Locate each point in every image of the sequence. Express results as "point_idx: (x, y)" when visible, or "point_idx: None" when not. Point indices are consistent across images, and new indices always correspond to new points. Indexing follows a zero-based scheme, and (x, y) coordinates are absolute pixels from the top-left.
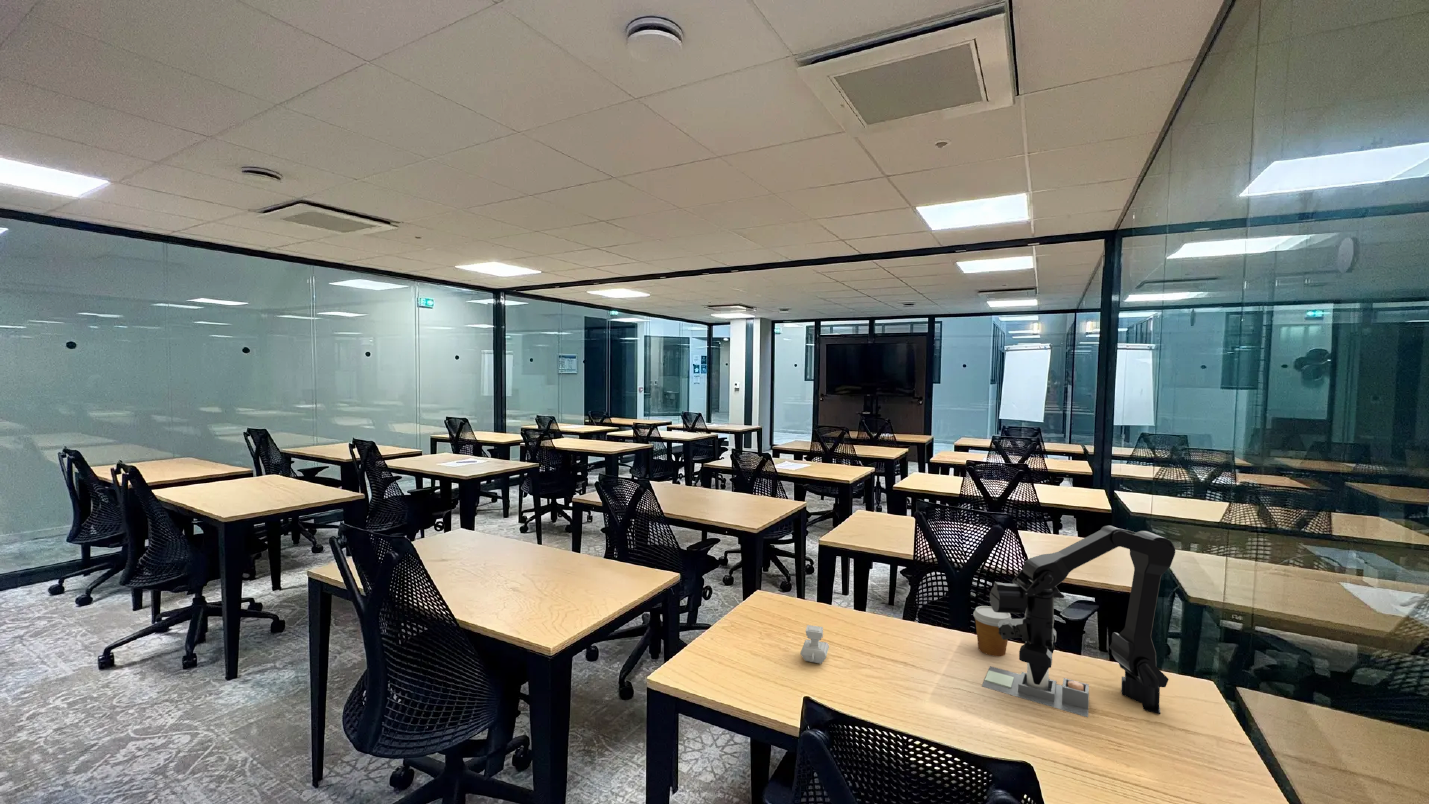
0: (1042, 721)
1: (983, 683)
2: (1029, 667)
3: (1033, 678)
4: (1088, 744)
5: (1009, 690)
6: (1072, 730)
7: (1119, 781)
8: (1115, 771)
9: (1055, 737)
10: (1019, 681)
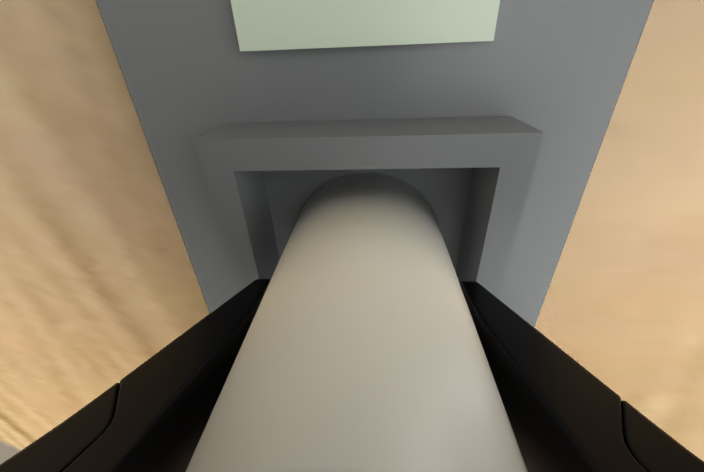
0: (106, 258)
1: None
2: (244, 351)
3: (215, 313)
4: (111, 382)
5: (190, 46)
6: (155, 349)
7: (4, 423)
8: (41, 420)
9: (31, 305)
10: (266, 142)
